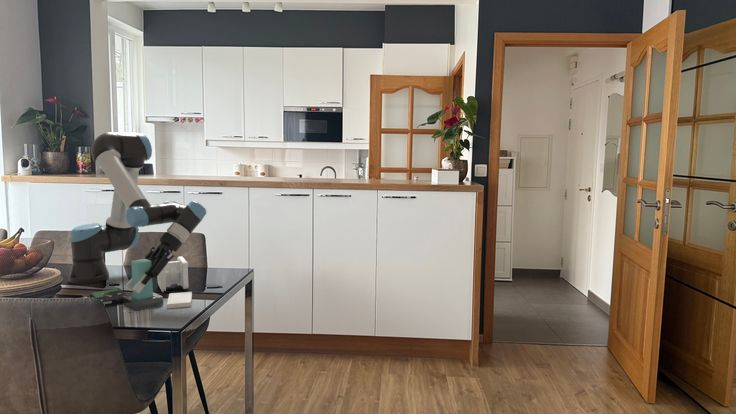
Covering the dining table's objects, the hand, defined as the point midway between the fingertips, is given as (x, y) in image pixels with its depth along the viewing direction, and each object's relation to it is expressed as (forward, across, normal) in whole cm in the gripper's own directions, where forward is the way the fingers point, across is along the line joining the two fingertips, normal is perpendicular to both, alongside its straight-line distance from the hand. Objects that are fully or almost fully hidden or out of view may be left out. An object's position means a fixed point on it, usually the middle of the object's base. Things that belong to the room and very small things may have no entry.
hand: (132, 289), depth 184 cm
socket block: (+2, 0, -7) cm, 7 cm away
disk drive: (+7, +15, -4) cm, 17 cm away
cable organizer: (-11, +14, -20) cm, 27 cm away
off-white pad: (-6, -6, -15) cm, 17 cm away
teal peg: (+1, 0, -6) cm, 7 cm away
